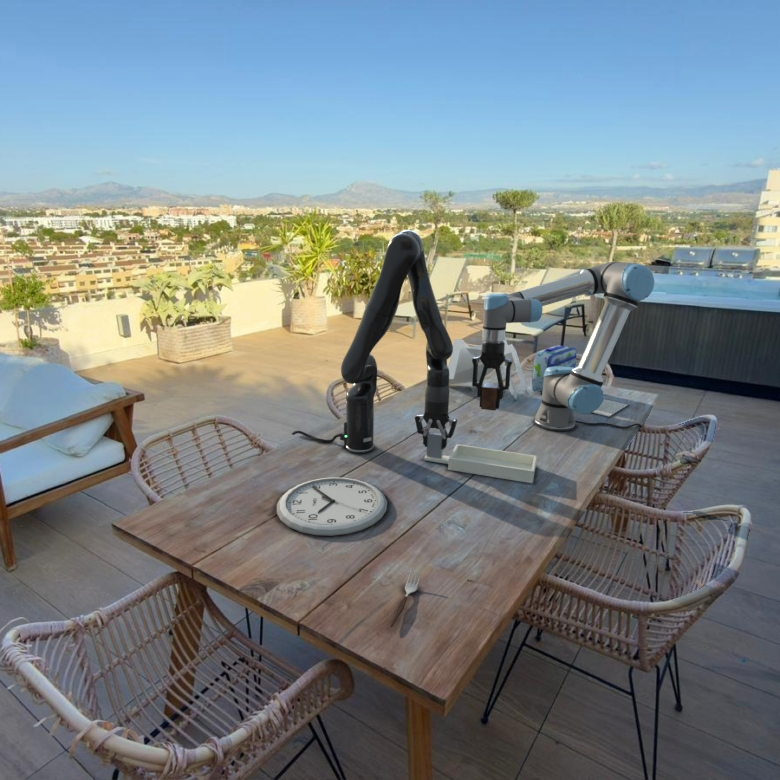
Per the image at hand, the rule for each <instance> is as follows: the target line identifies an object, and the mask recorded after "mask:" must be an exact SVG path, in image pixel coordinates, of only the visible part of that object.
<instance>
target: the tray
mask: <svg viewBox="0 0 780 780" xmlns="http://www.w3.org/2000/svg"><path fill="white" fill-rule="evenodd" d="M441 446H442V435H441V433H437V432H430V431H429V432H428V434H427V447H426V454H425V455H424V457H423V461H426V462H433V463H439V464H445V465H447V470H448V471H454V472H459V473H466V474H471V475H473V474H474V475H480V476H485V477H491V478H496V479H504V480H508V481H509V480H510V481H516V482H522V483H527V484H533V483H534V479H535V472H536V467H537V466H536V465H537V459H538V458H537V457H538V456H537V455H534V454H528V453H520V452H514V451H507V450H500V449H494V448H486V447H480V446H472V445H465V444H460V443H456V444H455V446H454V448H453V449H452V451H451V453H450V455H444V454H443V450H444V449H441Z"/></svg>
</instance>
